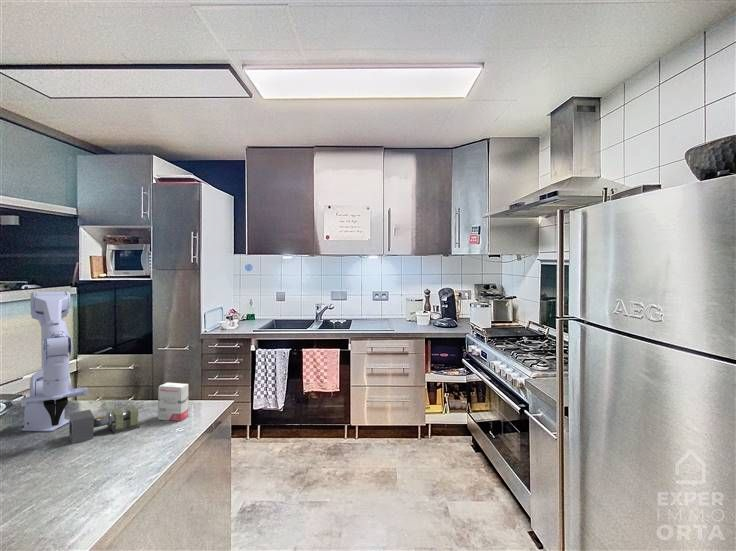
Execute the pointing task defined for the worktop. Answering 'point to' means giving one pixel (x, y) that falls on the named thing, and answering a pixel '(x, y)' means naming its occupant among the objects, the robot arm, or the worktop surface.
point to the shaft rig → (119, 420)
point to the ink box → (173, 401)
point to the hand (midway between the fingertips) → (55, 424)
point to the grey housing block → (81, 426)
